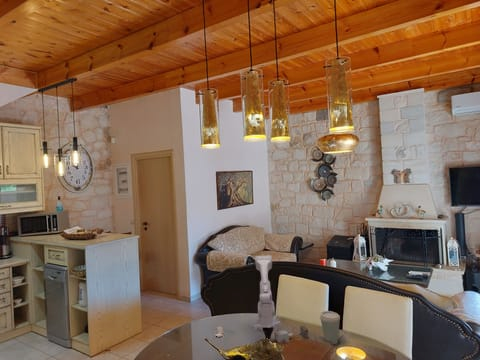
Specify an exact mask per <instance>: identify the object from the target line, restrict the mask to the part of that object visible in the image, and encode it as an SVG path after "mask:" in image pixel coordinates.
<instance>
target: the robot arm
mask: <svg viewBox="0 0 480 360" xmlns="http://www.w3.org/2000/svg"><path fill="white" fill-rule="evenodd" d="M254 259H255V262H254V263H255V268H256V270H257V271H259V272H260V281H259V301H258V303H257V317H256V324H253V330H255V331H257V330H260V331H262V332H263V334H264V336H265V339H266V338H268V339H270V340H271V337H272V333H273V331H274V327H281V325H282V324H281V321H279V320H278V321H274V317H275V315H276V311H275V302H274V300H273V295H272V290H271V282H270V280H269V276H268V275H269V271H270V270H272V267H273V257H272V255H255V258H254Z"/></svg>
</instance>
